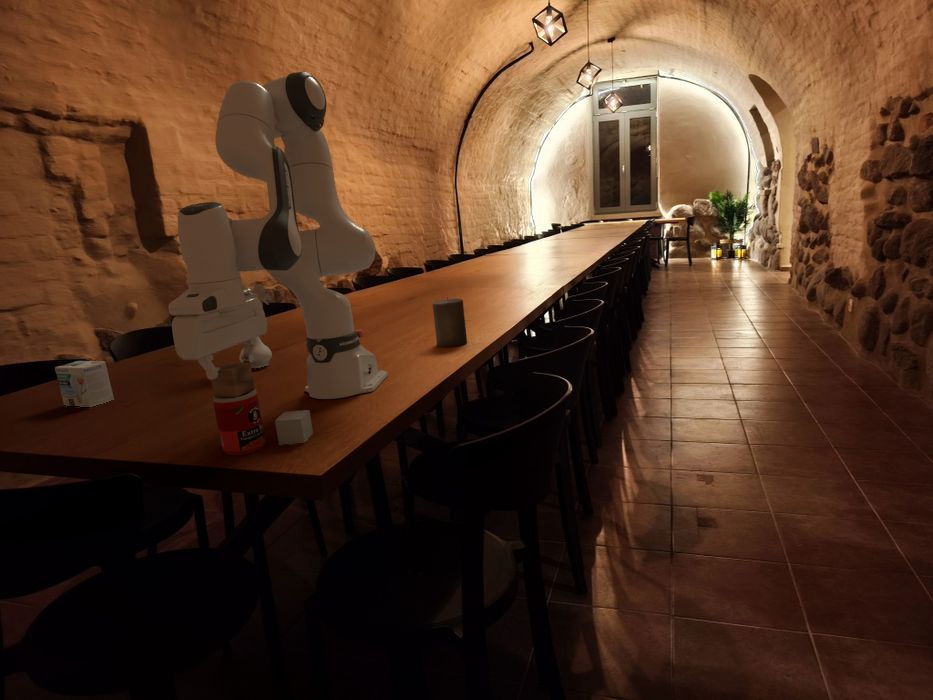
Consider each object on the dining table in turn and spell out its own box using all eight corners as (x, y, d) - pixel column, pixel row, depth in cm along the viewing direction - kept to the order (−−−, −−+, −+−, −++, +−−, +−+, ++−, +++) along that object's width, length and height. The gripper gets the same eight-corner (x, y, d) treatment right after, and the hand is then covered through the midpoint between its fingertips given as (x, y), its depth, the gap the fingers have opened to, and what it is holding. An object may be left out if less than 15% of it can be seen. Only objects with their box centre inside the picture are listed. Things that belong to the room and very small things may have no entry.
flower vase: (242, 362, 185) (227, 283, 179) (293, 360, 180) (280, 280, 174) (215, 373, 173) (198, 289, 167) (269, 372, 168) (254, 286, 162)
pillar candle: (472, 343, 182) (468, 295, 179) (445, 348, 177) (440, 300, 174) (457, 339, 190) (453, 293, 187) (431, 344, 185) (426, 298, 182)
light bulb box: (63, 407, 151) (53, 367, 149) (88, 398, 157) (78, 360, 155) (91, 408, 147) (81, 367, 145) (115, 400, 153) (106, 360, 151)
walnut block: (233, 388, 111) (228, 363, 110) (254, 388, 109) (250, 363, 108) (214, 396, 106) (209, 370, 105) (236, 397, 105) (231, 370, 104)
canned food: (246, 457, 105) (236, 400, 103) (213, 454, 108) (202, 398, 106) (275, 441, 112) (265, 387, 110) (242, 439, 115) (232, 386, 113)
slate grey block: (288, 435, 115) (284, 411, 114) (313, 434, 115) (309, 410, 113) (279, 445, 110) (274, 420, 109) (304, 443, 110) (300, 418, 109)
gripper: (241, 287, 114) (254, 355, 118) (159, 307, 96) (177, 387, 99) (268, 286, 112) (280, 355, 116) (190, 306, 94) (207, 388, 97)
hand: (232, 370), depth 107 cm, fingers open, 8 cm apart
